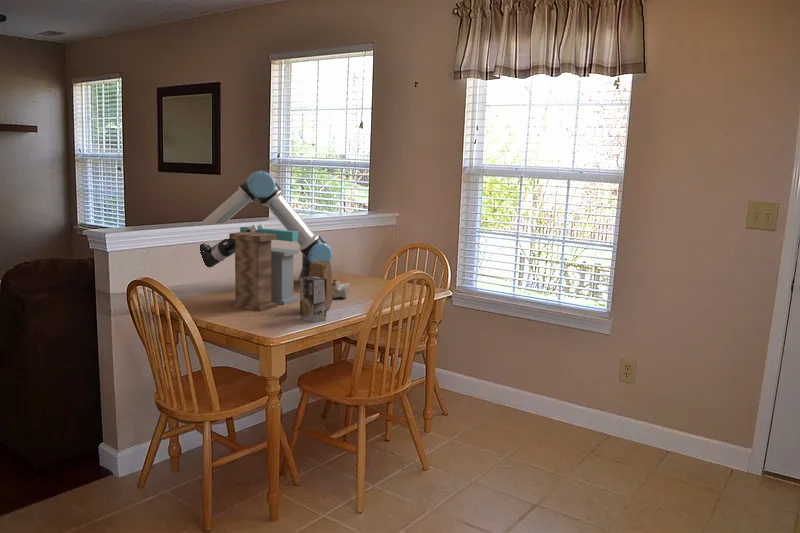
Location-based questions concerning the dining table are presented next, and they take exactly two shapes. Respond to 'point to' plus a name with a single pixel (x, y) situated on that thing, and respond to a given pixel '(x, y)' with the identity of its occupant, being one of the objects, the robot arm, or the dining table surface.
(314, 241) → the robot arm
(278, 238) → the bar
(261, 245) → the tall stand
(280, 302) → the low stand
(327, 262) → the brown bread chunk
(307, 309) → the coffee box
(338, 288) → the ceramic sculpture
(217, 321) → the dining table surface
